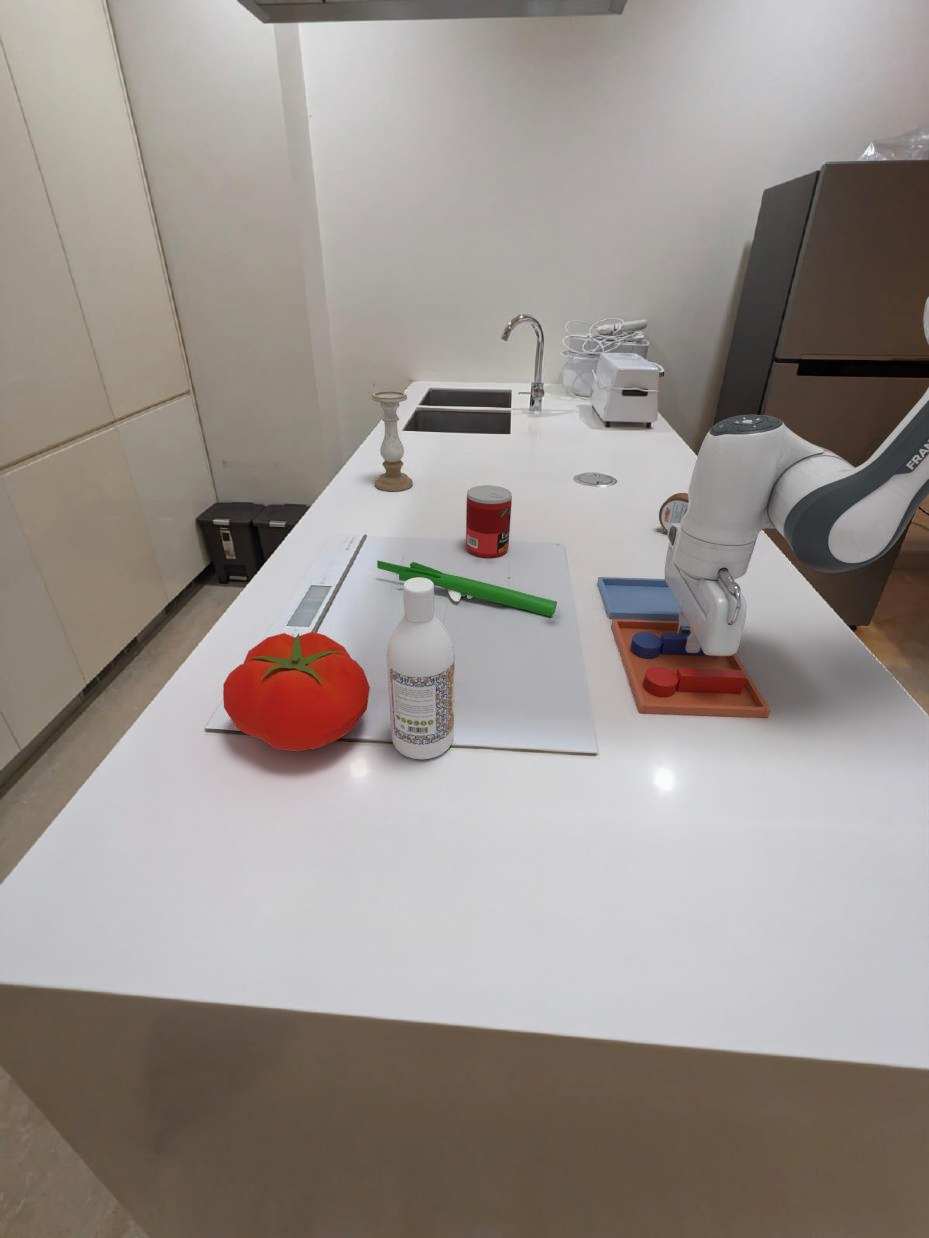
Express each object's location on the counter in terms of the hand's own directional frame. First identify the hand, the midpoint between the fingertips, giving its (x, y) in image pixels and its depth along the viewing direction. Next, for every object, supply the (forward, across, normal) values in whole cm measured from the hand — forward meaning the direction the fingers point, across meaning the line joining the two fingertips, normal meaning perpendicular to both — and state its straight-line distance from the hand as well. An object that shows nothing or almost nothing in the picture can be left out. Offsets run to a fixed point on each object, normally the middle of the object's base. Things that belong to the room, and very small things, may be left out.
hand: (687, 643), depth 79 cm
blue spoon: (+1, 0, +2) cm, 3 cm away
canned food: (+2, +32, +28) cm, 42 cm away
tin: (+2, +38, -12) cm, 41 cm away
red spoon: (+1, -8, +2) cm, 8 cm away
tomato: (+2, -16, +48) cm, 51 cm away
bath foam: (+2, -18, +34) cm, 39 cm away
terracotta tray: (+2, -4, +2) cm, 4 cm away
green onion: (+2, +14, +32) cm, 34 cm away
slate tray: (+2, +14, +2) cm, 14 cm away
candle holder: (+2, +64, +50) cm, 81 cm away
